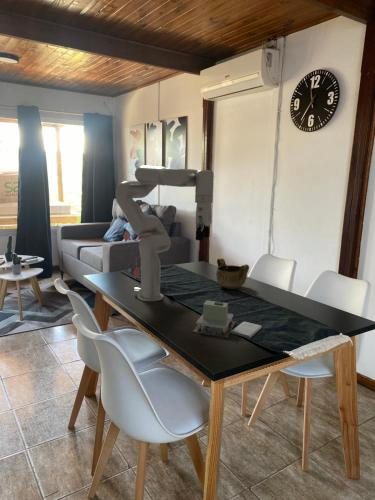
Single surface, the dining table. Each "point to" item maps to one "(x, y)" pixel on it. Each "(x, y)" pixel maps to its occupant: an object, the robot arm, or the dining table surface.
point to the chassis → (215, 326)
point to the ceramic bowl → (231, 274)
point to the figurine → (136, 271)
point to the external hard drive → (246, 329)
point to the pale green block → (215, 310)
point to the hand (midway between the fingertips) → (202, 238)
